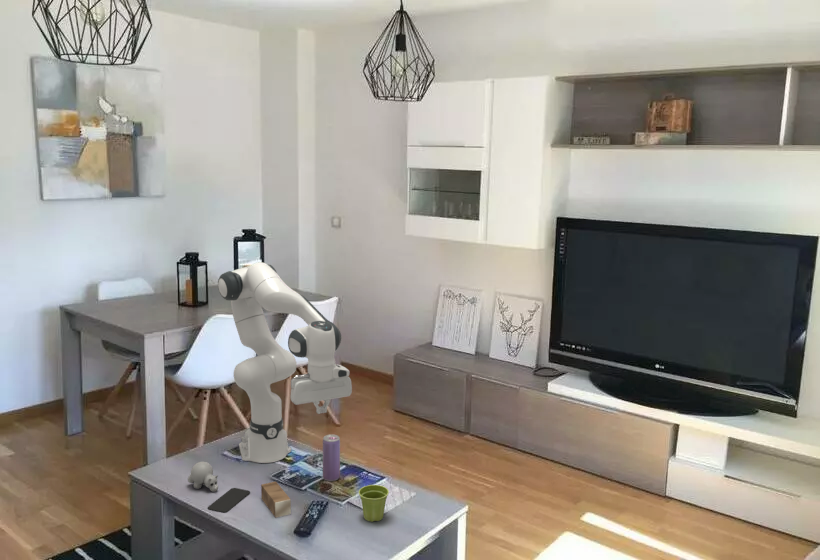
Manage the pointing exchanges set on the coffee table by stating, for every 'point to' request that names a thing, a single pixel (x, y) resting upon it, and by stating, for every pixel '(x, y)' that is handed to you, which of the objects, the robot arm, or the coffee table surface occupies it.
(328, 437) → the beverage can
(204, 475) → the round bodied animal figurine
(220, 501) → the phone
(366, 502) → the plant pot
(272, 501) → the walnut block
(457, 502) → the coffee table surface
